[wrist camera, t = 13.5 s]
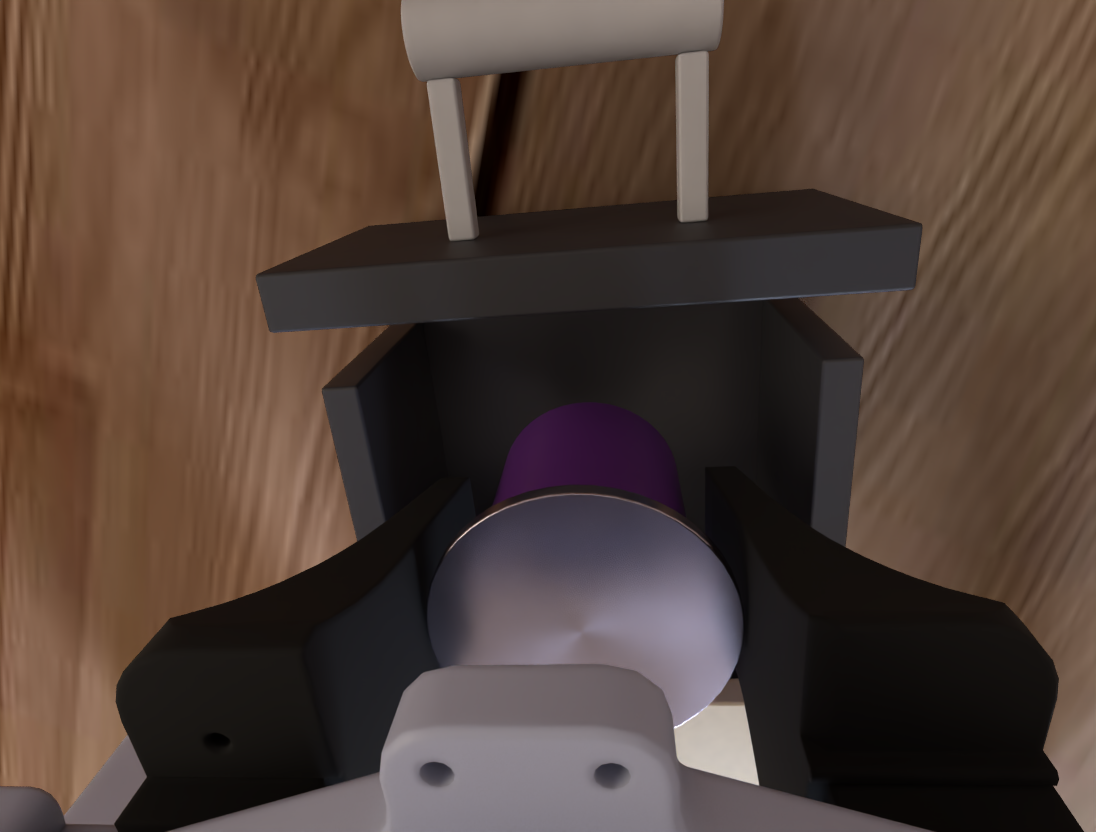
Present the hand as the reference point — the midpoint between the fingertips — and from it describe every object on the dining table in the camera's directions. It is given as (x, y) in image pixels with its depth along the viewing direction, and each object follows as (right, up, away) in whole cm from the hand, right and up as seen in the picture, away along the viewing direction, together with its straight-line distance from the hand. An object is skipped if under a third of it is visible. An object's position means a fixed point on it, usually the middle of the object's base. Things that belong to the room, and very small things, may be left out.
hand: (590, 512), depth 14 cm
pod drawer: (0, +4, +6) cm, 7 cm away
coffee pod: (0, +1, +1) cm, 1 cm away
